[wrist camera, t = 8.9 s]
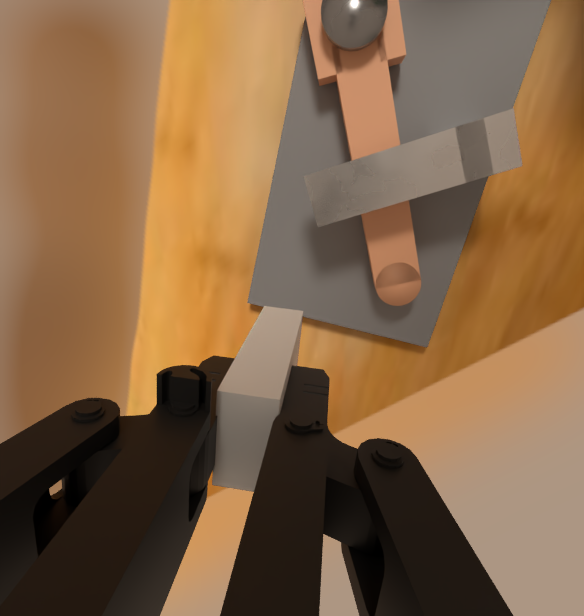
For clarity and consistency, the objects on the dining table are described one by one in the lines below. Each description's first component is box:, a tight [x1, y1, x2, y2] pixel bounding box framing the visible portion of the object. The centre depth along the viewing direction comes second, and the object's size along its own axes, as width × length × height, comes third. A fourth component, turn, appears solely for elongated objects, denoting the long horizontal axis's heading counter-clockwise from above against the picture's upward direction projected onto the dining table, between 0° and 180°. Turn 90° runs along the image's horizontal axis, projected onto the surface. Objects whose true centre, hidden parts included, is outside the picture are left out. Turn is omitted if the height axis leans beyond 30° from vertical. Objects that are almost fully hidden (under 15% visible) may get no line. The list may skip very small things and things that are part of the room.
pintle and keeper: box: [303, 0, 522, 227], centre depth 26 cm, size 13×14×5 cm
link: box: [303, 0, 421, 306], centre depth 27 cm, size 20×5×2 cm, turn 13°
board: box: [248, 0, 551, 347], centre depth 29 cm, size 26×14×1 cm, turn 167°
